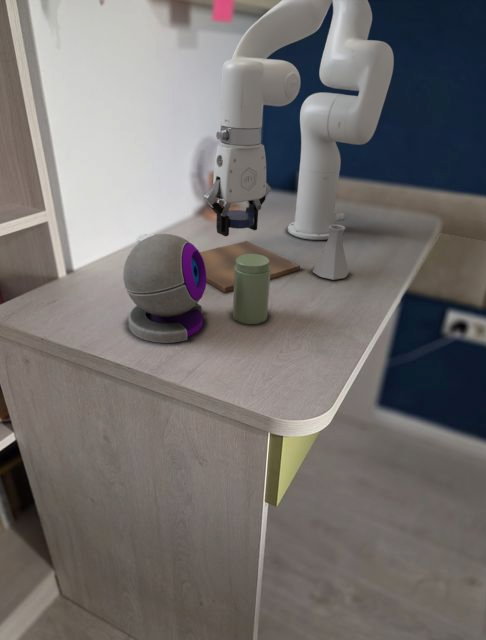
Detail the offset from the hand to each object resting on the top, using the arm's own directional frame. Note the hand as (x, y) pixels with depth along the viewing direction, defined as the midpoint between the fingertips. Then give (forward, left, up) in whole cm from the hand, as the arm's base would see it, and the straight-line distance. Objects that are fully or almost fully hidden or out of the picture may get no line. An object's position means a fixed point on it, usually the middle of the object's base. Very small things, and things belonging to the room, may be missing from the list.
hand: (237, 230), depth 101 cm
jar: (+12, +19, -8) cm, 24 cm away
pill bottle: (+20, -1, -8) cm, 21 cm away
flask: (-14, +14, -8) cm, 21 cm away
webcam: (+25, +13, -8) cm, 29 cm away
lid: (0, 0, +3) cm, 3 cm away
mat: (0, 0, -8) cm, 8 cm away
